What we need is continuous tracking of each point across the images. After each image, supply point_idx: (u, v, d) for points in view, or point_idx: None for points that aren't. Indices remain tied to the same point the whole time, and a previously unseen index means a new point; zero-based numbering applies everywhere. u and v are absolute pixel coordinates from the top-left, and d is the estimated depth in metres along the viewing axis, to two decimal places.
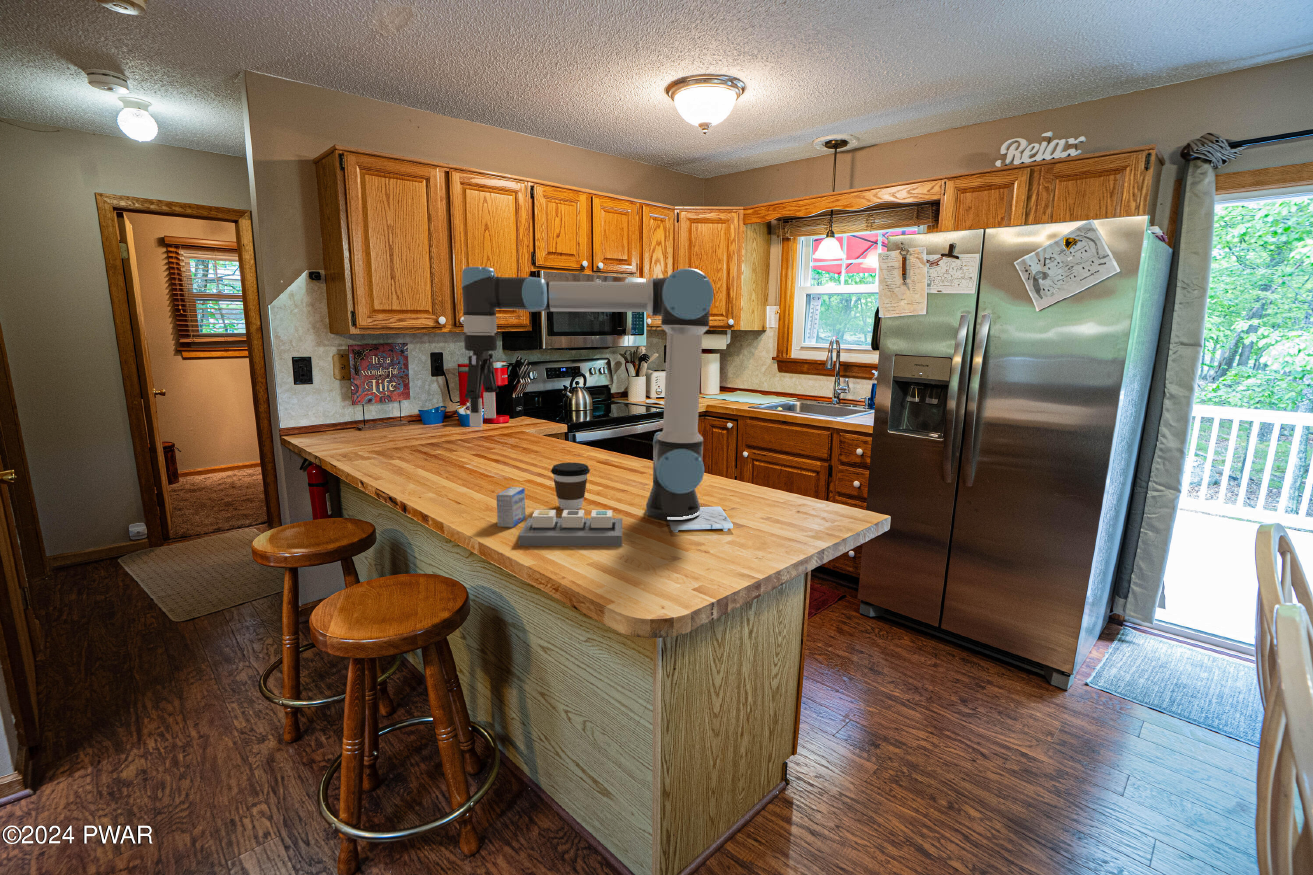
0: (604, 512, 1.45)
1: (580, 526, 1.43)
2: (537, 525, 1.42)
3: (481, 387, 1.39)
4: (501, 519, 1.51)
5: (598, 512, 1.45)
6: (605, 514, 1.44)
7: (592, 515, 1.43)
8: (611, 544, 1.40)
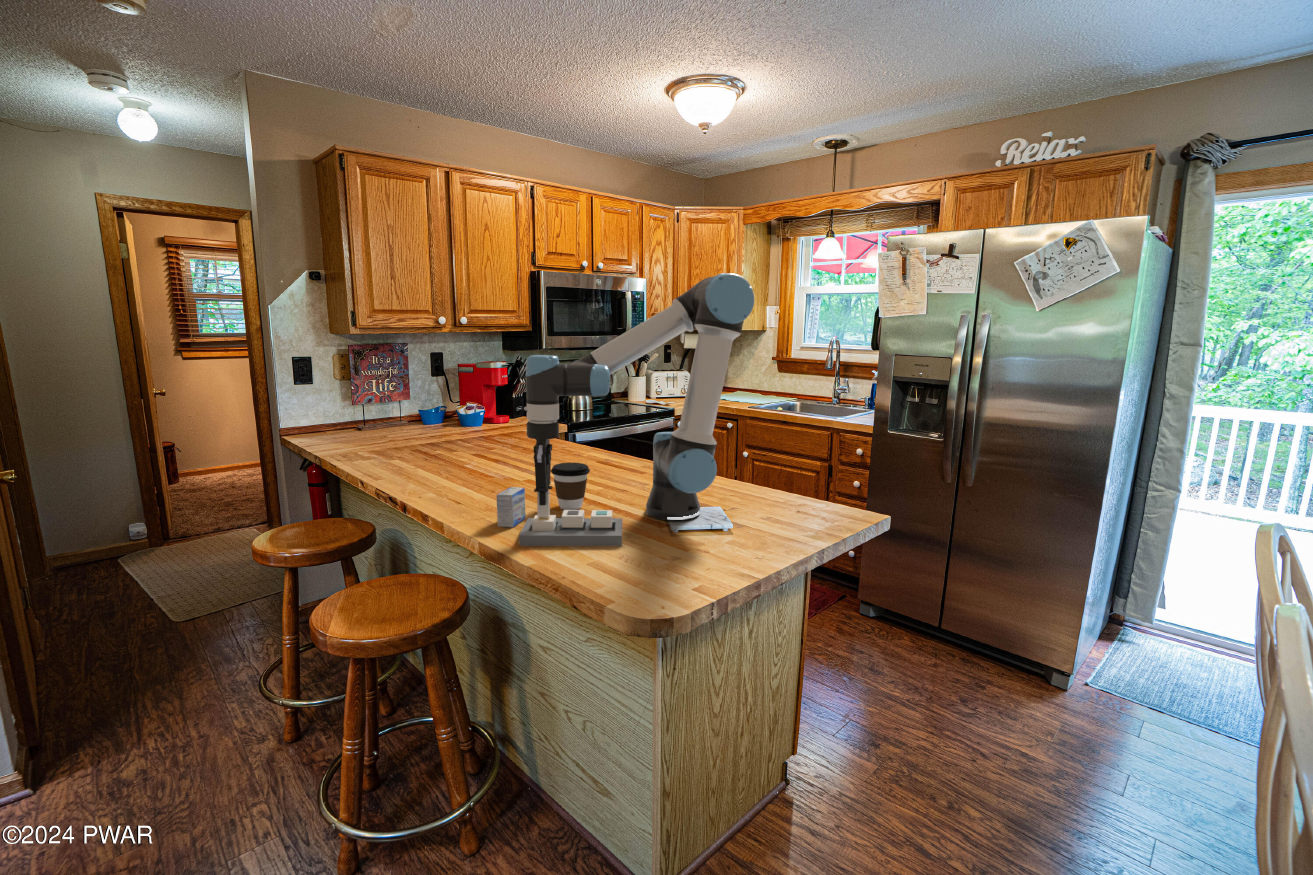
0: (604, 512, 1.45)
1: (580, 526, 1.43)
2: (537, 530, 1.42)
3: (547, 477, 1.42)
4: (501, 519, 1.51)
5: (598, 512, 1.45)
6: (605, 514, 1.44)
7: (592, 515, 1.43)
8: (611, 544, 1.40)
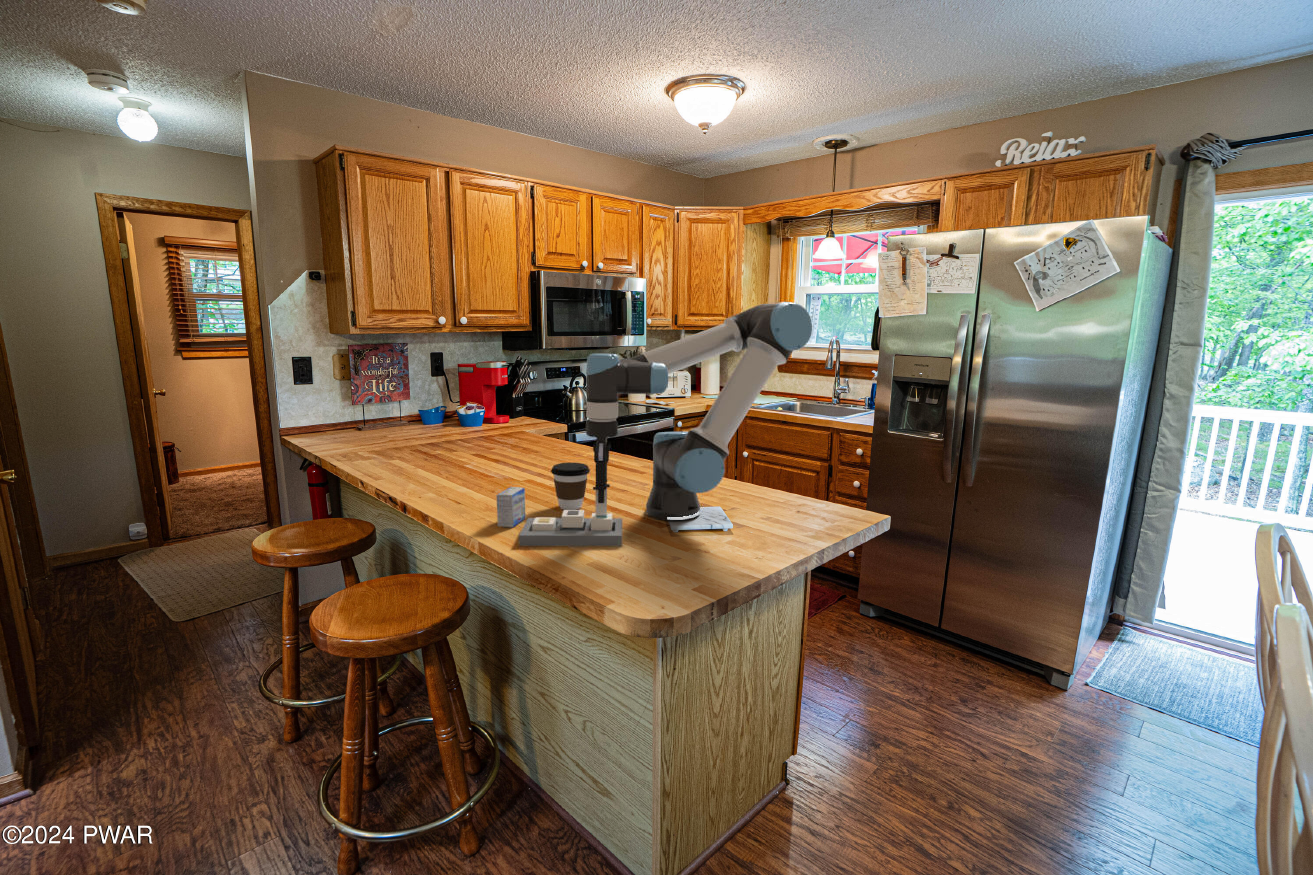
0: (604, 515, 1.45)
1: (580, 526, 1.43)
2: None
3: None
4: (501, 519, 1.51)
5: (598, 515, 1.45)
6: (605, 517, 1.44)
7: (592, 518, 1.43)
8: (611, 544, 1.40)
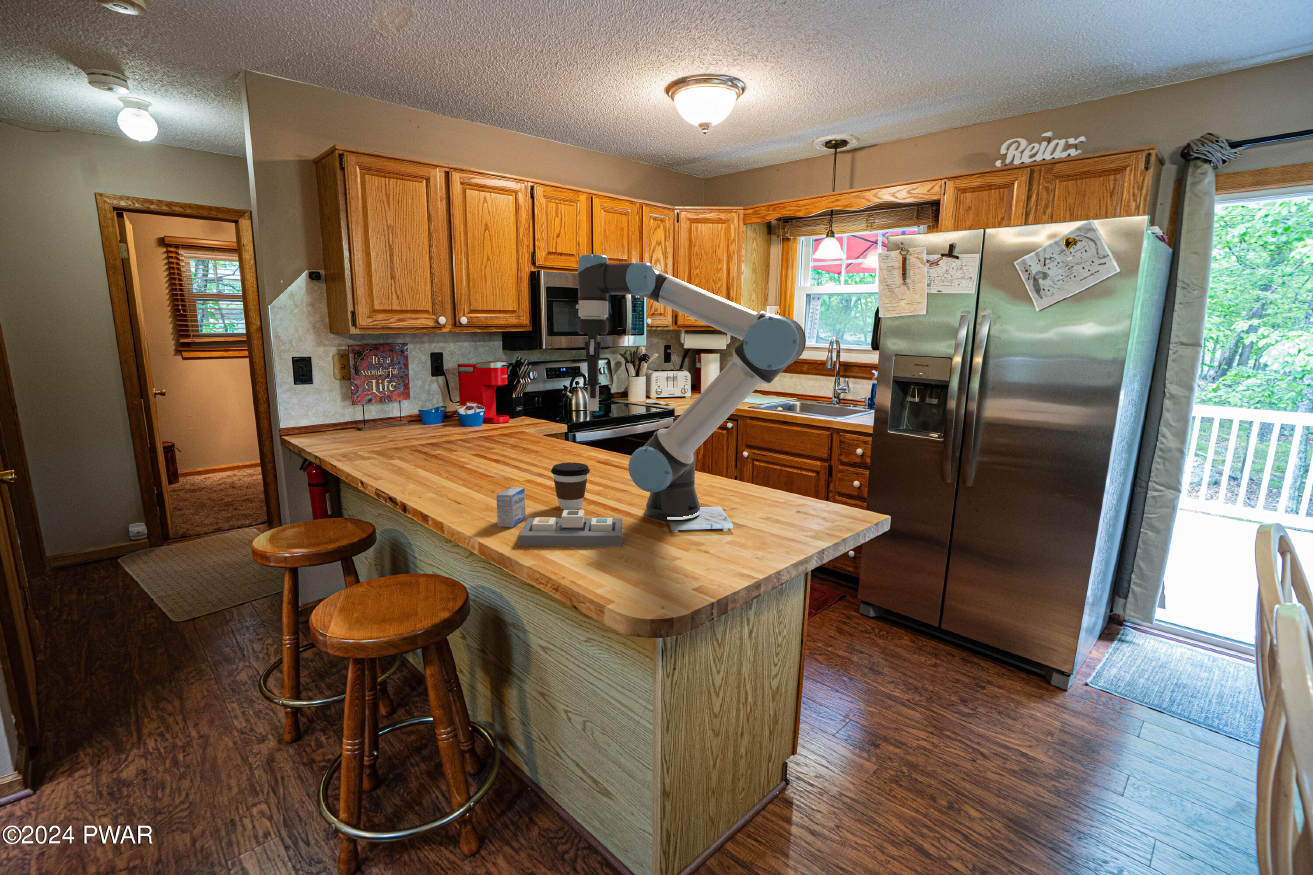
0: (604, 520, 1.45)
1: (580, 526, 1.43)
2: None
3: (597, 372, 1.52)
4: (501, 519, 1.51)
5: (598, 520, 1.45)
6: (605, 522, 1.44)
7: (592, 523, 1.43)
8: (611, 544, 1.40)
